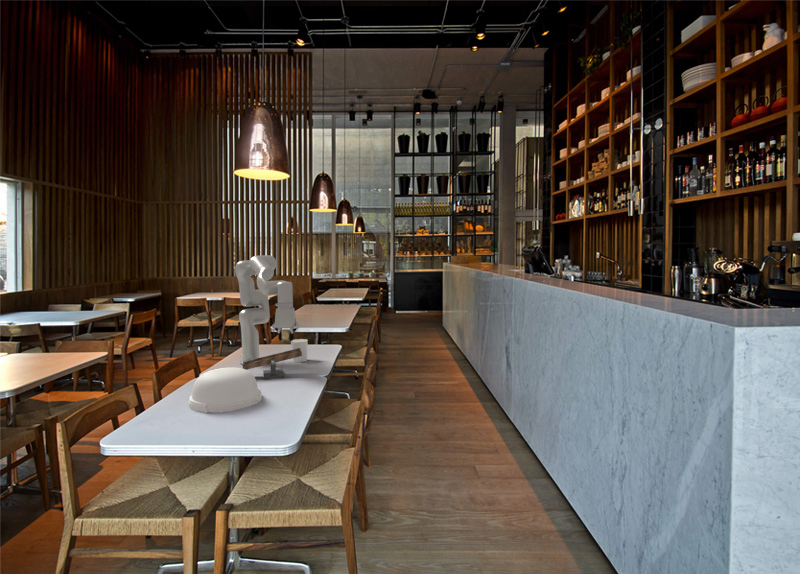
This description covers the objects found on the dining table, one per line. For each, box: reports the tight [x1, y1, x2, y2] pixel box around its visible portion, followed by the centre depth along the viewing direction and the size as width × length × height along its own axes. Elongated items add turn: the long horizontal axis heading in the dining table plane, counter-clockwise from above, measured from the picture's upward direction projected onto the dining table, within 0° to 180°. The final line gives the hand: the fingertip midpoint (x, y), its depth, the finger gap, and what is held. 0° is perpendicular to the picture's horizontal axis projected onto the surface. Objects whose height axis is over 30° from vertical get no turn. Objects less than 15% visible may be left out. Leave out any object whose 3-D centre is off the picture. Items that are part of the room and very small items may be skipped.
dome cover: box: [187, 366, 263, 414], centre depth 209 cm, size 32×30×14 cm
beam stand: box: [262, 359, 285, 380], centre depth 253 cm, size 10×15×9 cm, turn 16°
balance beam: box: [241, 348, 302, 370], centre depth 253 cm, size 30×8×4 cm, turn 106°
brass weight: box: [280, 328, 291, 344], centre depth 250 cm, size 5×5×6 cm
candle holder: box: [290, 338, 309, 363], centre depth 286 cm, size 10×10×12 cm
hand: (286, 340), depth 251 cm, fingers closed on brass weight, 5 cm apart
